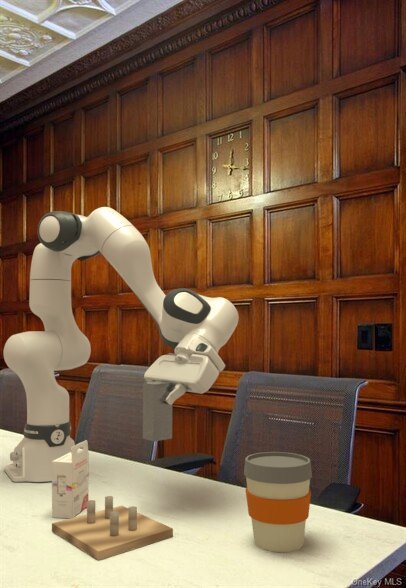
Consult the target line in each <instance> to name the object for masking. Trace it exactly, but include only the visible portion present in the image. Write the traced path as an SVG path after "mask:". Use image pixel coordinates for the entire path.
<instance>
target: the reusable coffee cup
mask: <svg viewBox="0 0 406 588" xmlns="http://www.w3.org/2000/svg"><path fill="white" fill-rule="evenodd" d="M244 459H245V460H244V467H243V469H244V470H243V475H244V476H245V479H246V481H245V482H246V487H245V496H246V497H245V498H246V504H247V512H248V516H249V517H250V519H251V526H252V533H253V534H252V535H253V541H254V544H255V545H256V547H258V548H259V549H262V550H265V551H268V552H274V553H288V552H289V553H290V552H294V551H297V550H299V549H301V548H302V547H303V546H304V542H305V541H304V540H305V531H306V523H307V522H306V521H307V520H308V518H309V515H310V505H311V496H312V491H311V489H310V485H311V479H312V477H313V474H312V463H311V459H310V458H309V457H307V456H305V455H302V454H298V453H295V452H294V453H292V452H282V451H281V452H280V451H265V452H256V453H253V454H250V455H248V456H246V457H245V458H244Z"/></svg>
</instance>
